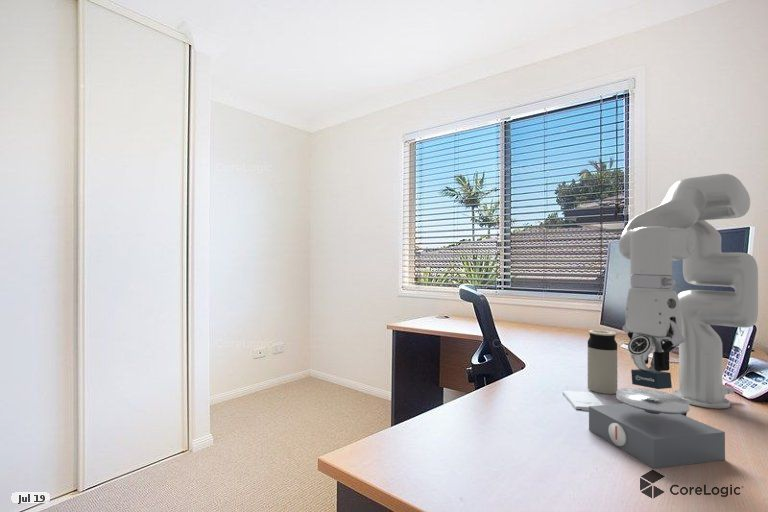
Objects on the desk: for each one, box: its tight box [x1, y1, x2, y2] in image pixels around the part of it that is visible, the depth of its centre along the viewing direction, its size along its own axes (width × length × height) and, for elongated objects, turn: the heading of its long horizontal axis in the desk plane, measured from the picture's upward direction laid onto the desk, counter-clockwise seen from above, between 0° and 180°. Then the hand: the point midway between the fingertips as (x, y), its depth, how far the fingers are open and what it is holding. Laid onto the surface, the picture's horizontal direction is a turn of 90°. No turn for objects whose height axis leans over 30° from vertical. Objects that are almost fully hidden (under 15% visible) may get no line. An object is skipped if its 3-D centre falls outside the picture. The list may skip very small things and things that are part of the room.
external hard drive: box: [562, 390, 605, 411], centre depth 107 cm, size 2×8×12 cm
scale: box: [588, 403, 726, 469], centre depth 82 cm, size 18×17×6 cm
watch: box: [627, 334, 673, 390], centre depth 83 cm, size 6×8×11 cm
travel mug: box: [587, 329, 618, 395], centre depth 117 cm, size 8×8×18 cm
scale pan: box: [615, 387, 691, 414], centre depth 83 cm, size 13×13×3 cm
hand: (651, 366), depth 83 cm, fingers closed on watch, 4 cm apart
